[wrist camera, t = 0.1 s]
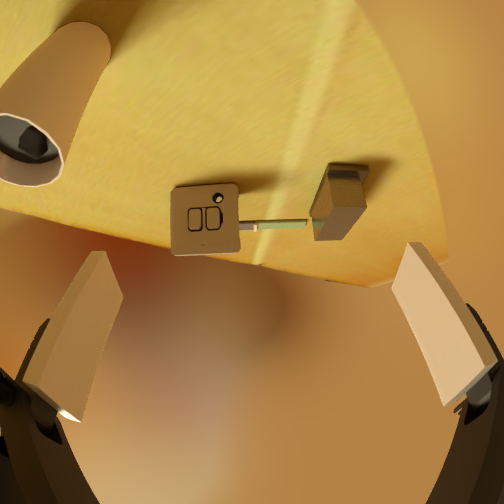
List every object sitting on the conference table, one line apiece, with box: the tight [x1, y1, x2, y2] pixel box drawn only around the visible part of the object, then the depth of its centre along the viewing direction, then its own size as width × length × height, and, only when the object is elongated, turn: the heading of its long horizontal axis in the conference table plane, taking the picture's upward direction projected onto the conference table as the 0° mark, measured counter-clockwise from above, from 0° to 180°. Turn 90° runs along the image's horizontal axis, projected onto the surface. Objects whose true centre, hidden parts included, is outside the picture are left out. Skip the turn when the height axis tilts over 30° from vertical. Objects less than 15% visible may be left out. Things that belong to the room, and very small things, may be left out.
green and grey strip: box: [239, 220, 306, 231], centre depth 44 cm, size 2×17×1 cm, turn 90°
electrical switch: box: [170, 183, 241, 256], centre depth 33 cm, size 8×5×8 cm, turn 92°
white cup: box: [0, 22, 111, 187], centre depth 11 cm, size 7×7×10 cm
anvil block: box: [309, 164, 370, 241], centre depth 33 cm, size 12×5×5 cm, turn 0°
